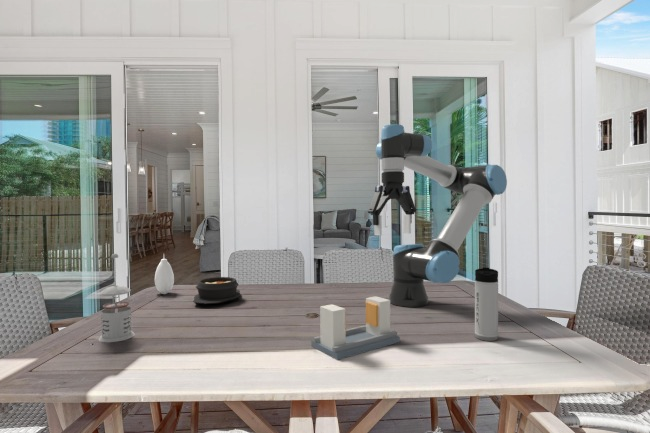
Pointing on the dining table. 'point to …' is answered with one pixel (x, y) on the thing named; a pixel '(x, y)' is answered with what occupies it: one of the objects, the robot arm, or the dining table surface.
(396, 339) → the rail
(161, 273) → the bulb air blower
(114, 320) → the french press
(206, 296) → the casserole
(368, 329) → the white block orange panel
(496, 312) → the travel mug
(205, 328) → the dining table surface
